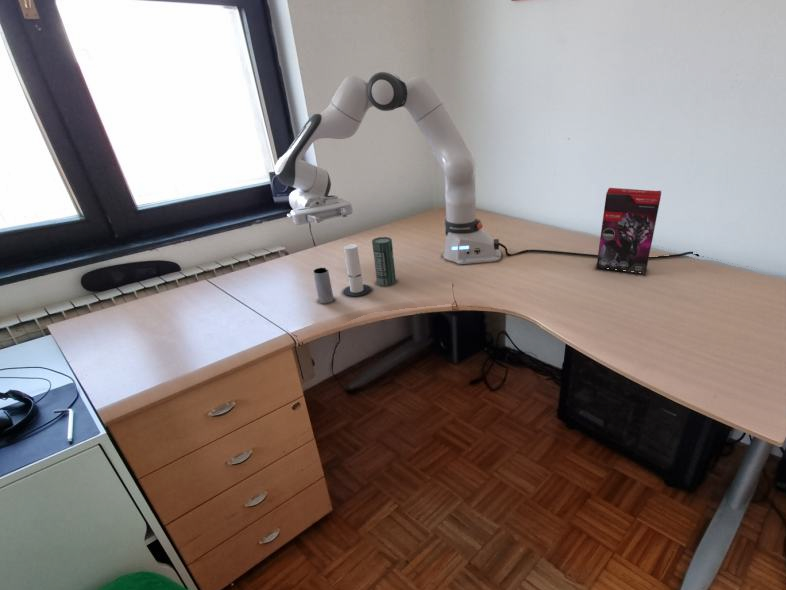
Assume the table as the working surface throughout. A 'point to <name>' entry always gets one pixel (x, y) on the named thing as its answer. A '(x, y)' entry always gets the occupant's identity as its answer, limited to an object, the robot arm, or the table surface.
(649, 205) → the graphics card box
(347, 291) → the slate coaster
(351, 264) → the tube
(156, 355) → the table surface
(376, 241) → the can
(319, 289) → the grey hollow cylinder
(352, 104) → the robot arm
